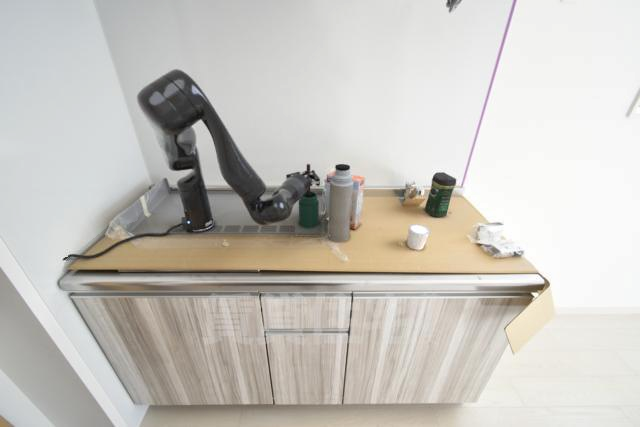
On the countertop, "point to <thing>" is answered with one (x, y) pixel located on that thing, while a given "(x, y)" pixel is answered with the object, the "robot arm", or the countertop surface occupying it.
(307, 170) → the bottle brush
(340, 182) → the thermos bottle
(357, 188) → the cracker box
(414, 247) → the white ribbed cup
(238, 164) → the robot arm
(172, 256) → the countertop surface
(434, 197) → the coffee jar
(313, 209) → the green bottle
